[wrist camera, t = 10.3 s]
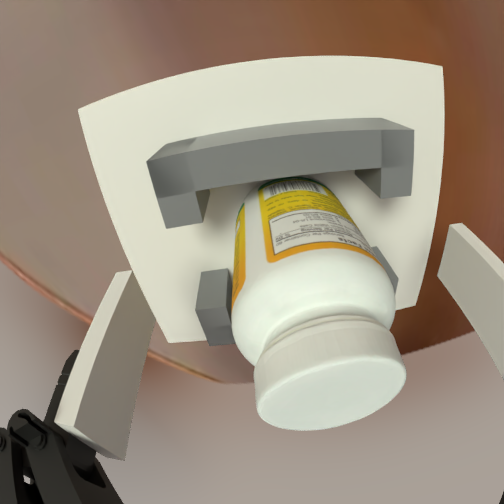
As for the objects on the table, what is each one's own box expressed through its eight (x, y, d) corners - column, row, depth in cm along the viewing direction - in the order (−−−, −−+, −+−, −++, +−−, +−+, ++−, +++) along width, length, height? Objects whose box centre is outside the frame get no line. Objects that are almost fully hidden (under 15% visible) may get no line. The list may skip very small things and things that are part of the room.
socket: (431, 66, 10) (480, 70, 7) (409, 296, 19) (432, 335, 16) (87, 106, 11) (42, 120, 8) (171, 332, 20) (162, 377, 17)
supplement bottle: (292, 148, 12) (385, 291, 4) (358, 222, 14) (451, 376, 6) (212, 224, 14) (185, 409, 6) (284, 282, 16) (312, 446, 8)
